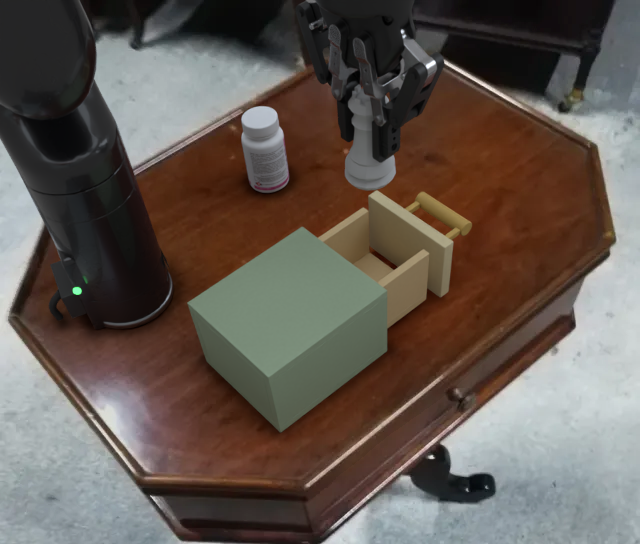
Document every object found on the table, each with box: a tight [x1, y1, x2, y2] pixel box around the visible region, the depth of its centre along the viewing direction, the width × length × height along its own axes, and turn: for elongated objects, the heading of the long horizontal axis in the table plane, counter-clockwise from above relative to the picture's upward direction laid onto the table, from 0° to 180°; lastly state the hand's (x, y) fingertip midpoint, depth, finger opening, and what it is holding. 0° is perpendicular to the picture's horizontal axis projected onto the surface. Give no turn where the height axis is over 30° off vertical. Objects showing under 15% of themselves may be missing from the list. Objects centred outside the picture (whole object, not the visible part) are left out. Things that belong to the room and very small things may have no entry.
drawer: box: [317, 189, 473, 329], centre depth 73 cm, size 17×10×7 cm, turn 131°
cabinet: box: [186, 226, 388, 433], centre depth 70 cm, size 14×12×9 cm
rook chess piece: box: [344, 85, 397, 191], centre depth 61 cm, size 4×4×8 cm
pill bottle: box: [240, 105, 290, 194], centre depth 84 cm, size 5×5×8 cm
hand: (369, 145), depth 62 cm, fingers closed on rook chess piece, 3 cm apart
